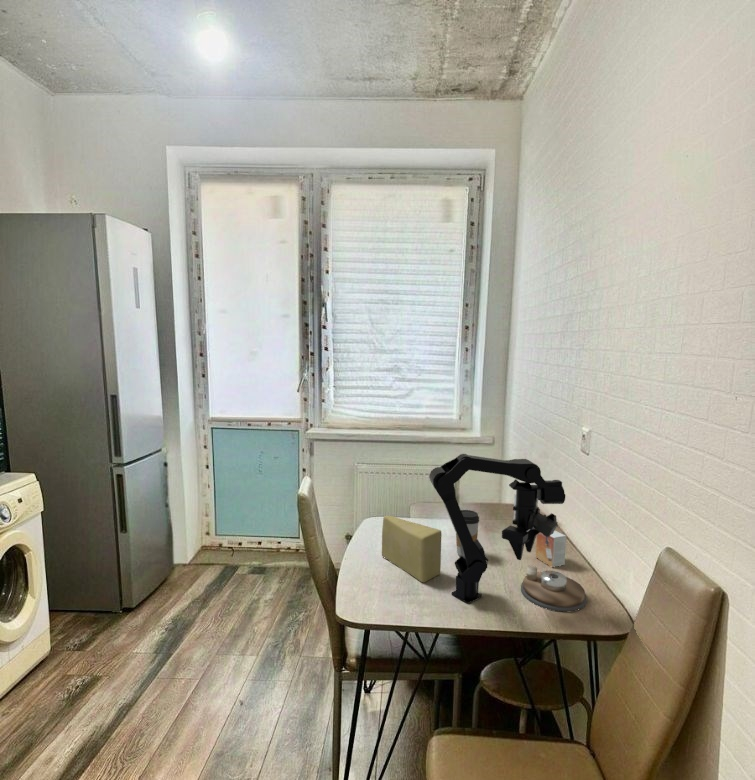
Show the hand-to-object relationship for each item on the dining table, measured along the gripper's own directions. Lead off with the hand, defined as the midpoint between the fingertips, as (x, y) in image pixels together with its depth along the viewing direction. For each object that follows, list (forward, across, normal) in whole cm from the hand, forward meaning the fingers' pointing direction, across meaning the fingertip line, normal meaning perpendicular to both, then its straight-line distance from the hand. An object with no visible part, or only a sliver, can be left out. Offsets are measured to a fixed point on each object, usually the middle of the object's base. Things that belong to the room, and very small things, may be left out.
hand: (524, 555), depth 130 cm
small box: (+12, +27, +2) cm, 30 cm away
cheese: (+12, -9, +36) cm, 39 cm away
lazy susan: (+11, +6, -6) cm, 14 cm away
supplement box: (+12, +56, +23) cm, 62 cm away
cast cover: (+9, +6, -6) cm, 13 cm away
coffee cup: (+12, +12, +26) cm, 31 cm away
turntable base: (+12, +6, -6) cm, 15 cm away
